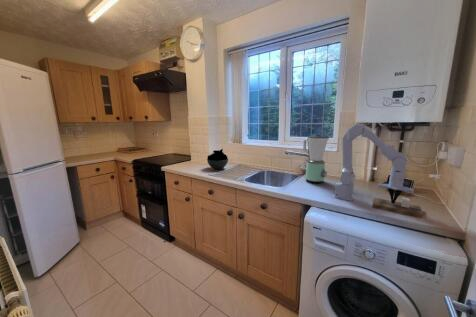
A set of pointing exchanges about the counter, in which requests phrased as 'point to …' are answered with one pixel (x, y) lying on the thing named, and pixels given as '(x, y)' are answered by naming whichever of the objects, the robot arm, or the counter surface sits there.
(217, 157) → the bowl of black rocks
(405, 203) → the fader
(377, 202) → the brown flat slab
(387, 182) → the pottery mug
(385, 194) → the counter surface
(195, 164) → the counter surface
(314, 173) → the green blender
